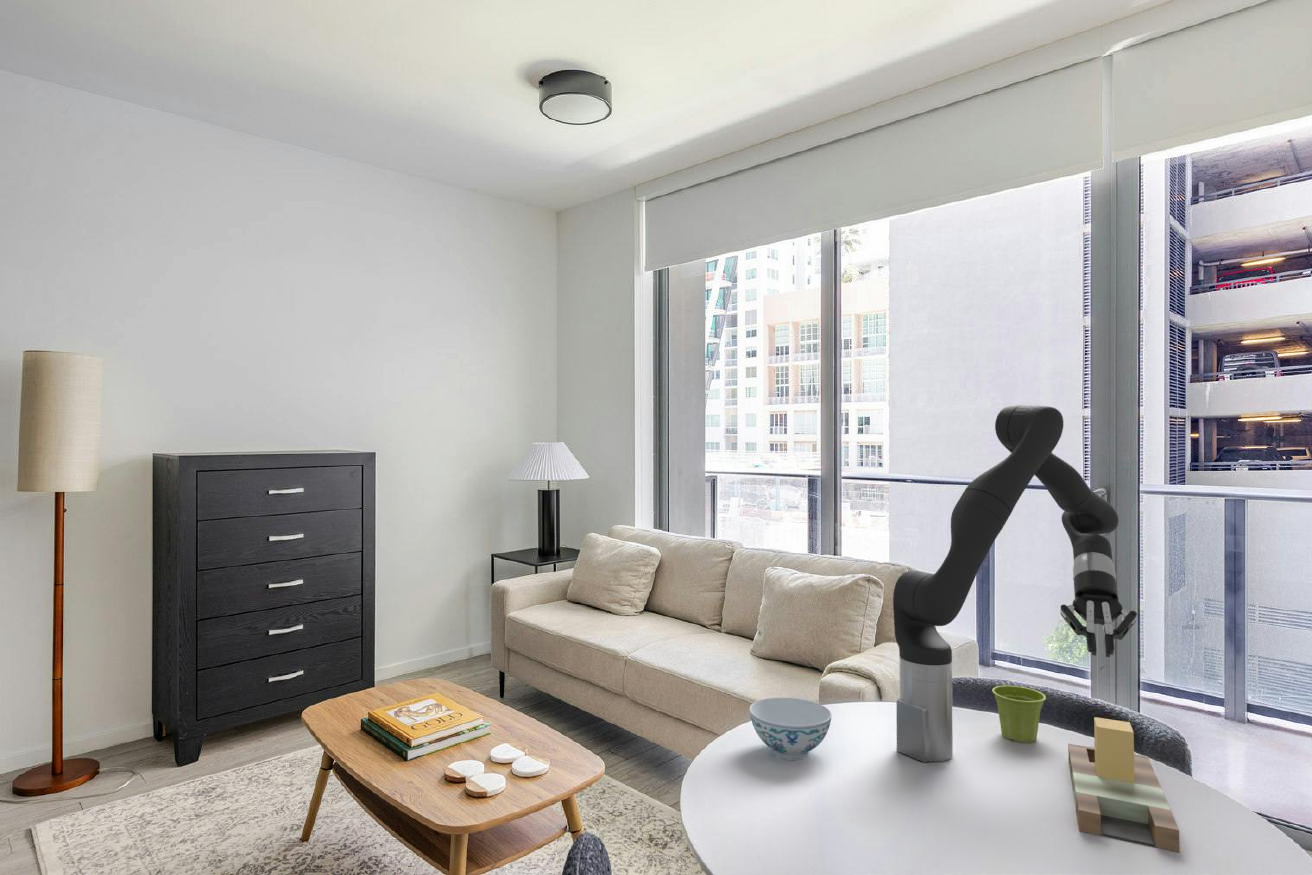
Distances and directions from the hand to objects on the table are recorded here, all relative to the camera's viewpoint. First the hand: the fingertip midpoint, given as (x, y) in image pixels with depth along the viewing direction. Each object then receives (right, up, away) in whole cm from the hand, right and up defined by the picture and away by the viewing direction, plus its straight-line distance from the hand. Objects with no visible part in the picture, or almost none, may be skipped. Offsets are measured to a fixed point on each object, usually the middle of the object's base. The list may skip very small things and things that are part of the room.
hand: (1101, 653), depth 134 cm
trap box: (-11, -17, -21) cm, 29 cm away
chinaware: (-60, -18, -3) cm, 63 cm away
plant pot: (-13, -18, +5) cm, 23 cm away
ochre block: (-9, -14, -18) cm, 25 cm away
